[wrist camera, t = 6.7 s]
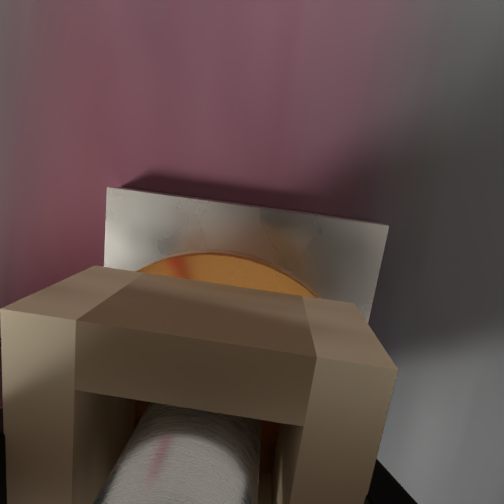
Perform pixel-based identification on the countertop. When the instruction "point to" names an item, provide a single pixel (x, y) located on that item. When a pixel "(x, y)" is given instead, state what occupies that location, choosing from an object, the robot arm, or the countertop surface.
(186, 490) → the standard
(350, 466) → the collar
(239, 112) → the countertop surface
